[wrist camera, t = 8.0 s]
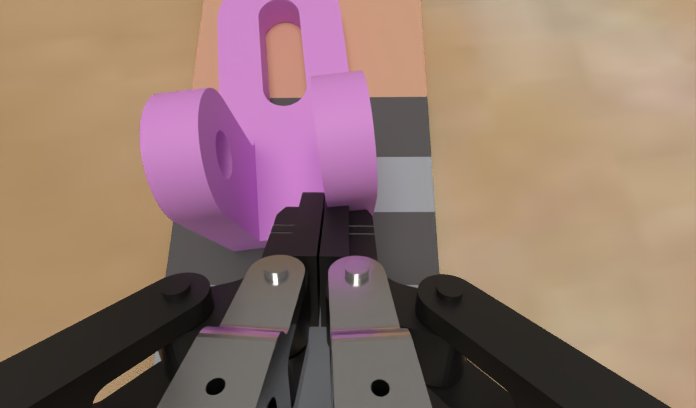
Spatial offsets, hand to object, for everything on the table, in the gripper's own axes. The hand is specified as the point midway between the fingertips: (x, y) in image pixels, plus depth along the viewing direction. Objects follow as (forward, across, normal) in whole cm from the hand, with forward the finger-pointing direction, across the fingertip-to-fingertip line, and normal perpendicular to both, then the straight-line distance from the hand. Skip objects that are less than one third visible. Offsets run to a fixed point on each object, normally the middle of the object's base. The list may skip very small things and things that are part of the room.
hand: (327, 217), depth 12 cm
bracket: (+7, -2, +2) cm, 7 cm away
